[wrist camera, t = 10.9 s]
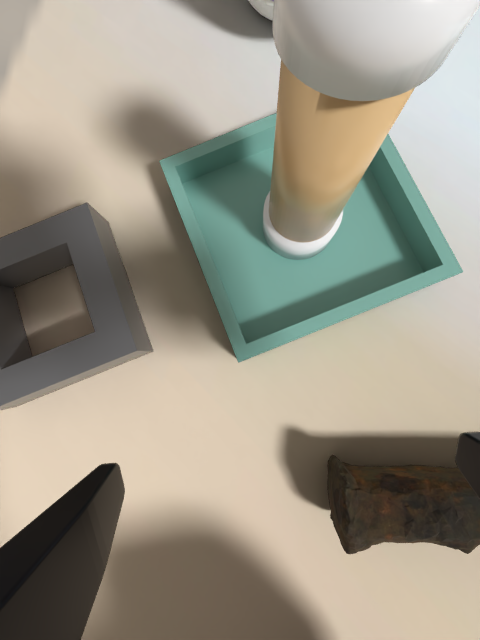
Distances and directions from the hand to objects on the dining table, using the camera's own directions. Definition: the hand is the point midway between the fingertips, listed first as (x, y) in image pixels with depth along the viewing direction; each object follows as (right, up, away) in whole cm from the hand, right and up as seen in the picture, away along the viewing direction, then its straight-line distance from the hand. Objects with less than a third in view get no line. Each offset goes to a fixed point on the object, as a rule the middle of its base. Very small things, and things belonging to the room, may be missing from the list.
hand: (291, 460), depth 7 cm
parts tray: (+2, +10, +11) cm, 15 cm away
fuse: (+2, +10, +11) cm, 15 cm away
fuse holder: (-14, +4, +12) cm, 18 cm away
